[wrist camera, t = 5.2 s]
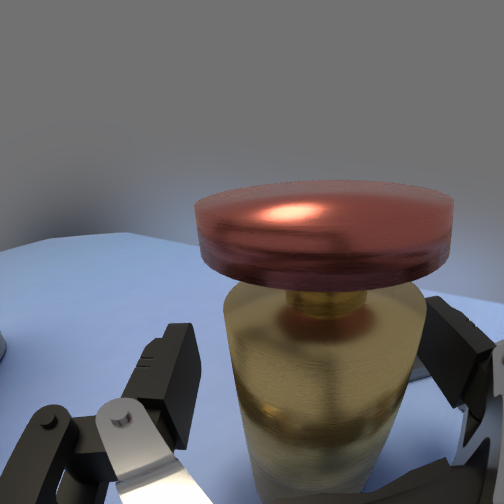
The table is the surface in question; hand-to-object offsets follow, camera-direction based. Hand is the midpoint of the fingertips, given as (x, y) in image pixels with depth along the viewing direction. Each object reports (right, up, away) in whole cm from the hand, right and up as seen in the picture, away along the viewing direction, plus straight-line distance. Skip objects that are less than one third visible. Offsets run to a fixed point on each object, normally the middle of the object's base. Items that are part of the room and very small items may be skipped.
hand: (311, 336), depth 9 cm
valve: (+1, -7, 0) cm, 7 cm away
